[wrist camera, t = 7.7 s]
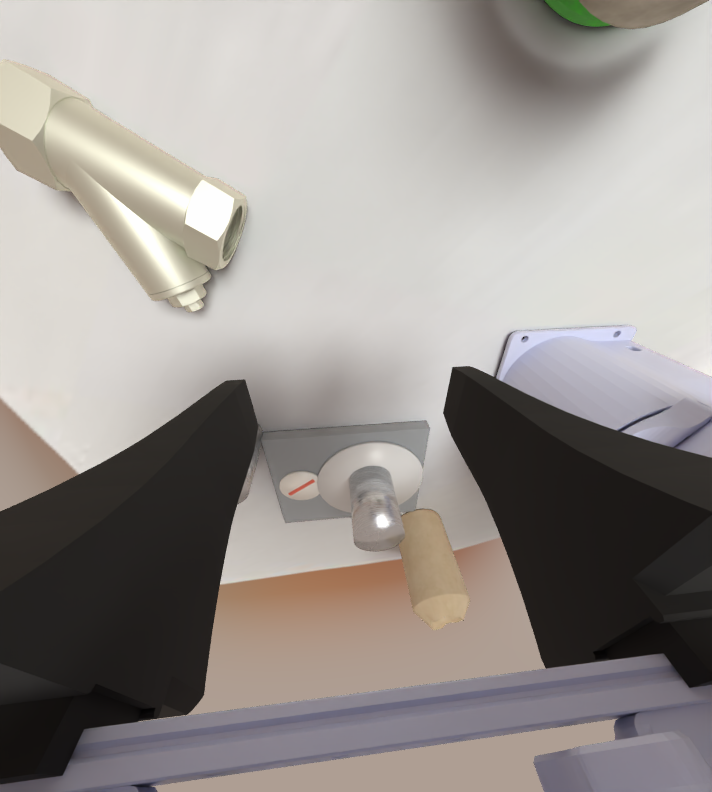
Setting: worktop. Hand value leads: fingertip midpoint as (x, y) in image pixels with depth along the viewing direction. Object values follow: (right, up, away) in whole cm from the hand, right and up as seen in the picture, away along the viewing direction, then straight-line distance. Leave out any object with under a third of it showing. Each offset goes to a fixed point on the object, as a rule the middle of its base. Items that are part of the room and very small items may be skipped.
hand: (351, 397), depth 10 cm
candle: (+8, -15, +24) cm, 29 cm away
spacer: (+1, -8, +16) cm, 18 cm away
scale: (-1, -8, +17) cm, 19 cm away
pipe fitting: (-10, +9, +5) cm, 15 cm away
